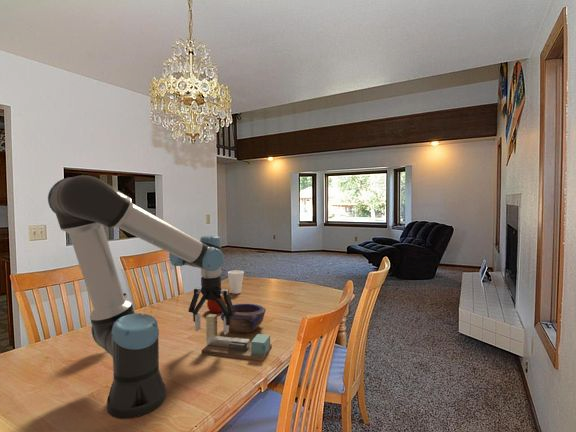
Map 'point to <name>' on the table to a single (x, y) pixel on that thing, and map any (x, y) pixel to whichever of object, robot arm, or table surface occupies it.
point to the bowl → (246, 317)
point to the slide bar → (218, 340)
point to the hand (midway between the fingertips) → (211, 331)
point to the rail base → (234, 351)
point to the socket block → (260, 344)
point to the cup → (235, 281)
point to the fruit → (214, 305)
